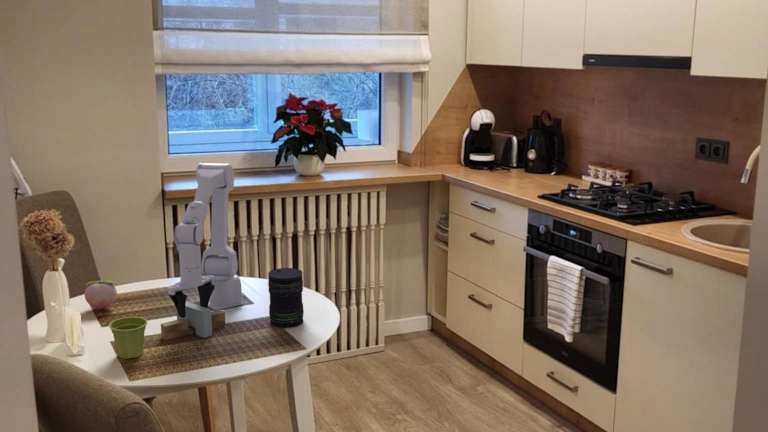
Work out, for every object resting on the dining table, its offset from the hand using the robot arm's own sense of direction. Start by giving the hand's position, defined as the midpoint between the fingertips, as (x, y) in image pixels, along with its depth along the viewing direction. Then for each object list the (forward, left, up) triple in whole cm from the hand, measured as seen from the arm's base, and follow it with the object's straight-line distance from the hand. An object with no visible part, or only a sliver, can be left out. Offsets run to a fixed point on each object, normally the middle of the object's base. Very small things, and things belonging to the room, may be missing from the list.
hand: (193, 313), depth 214 cm
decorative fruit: (+14, -34, -6) cm, 37 cm away
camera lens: (-24, +10, -6) cm, 27 cm away
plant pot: (+20, +5, -6) cm, 21 cm away
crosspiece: (0, 0, -5) cm, 5 cm away
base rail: (0, 0, -5) cm, 5 cm away
